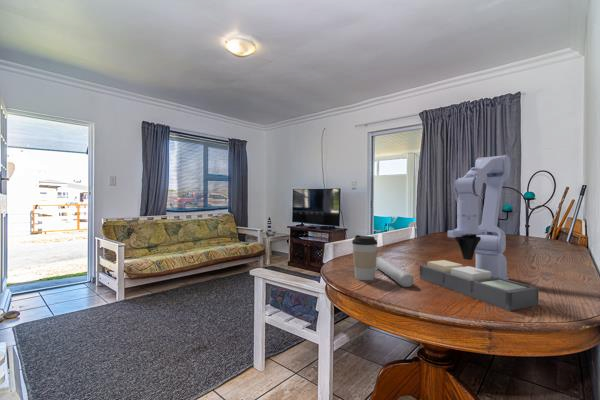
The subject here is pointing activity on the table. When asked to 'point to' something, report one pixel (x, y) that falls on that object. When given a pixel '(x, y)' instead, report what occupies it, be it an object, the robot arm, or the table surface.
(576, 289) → the table surface
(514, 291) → the grey button box
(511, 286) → the sage key
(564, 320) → the table surface
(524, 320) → the table surface
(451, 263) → the sand key
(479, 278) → the middle key
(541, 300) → the table surface
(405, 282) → the tube
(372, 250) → the coffee cup
